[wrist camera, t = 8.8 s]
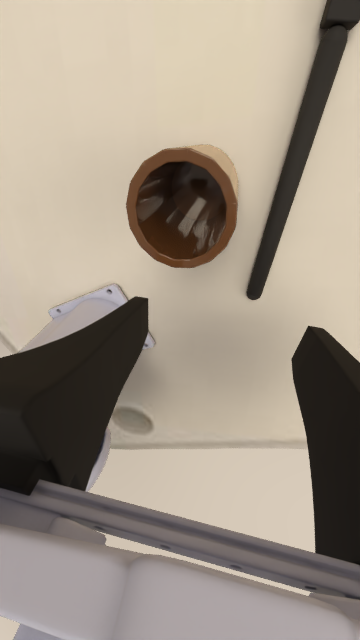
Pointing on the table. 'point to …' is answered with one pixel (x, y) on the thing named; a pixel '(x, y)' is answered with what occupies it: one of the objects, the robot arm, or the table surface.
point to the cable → (305, 130)
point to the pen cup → (184, 205)
